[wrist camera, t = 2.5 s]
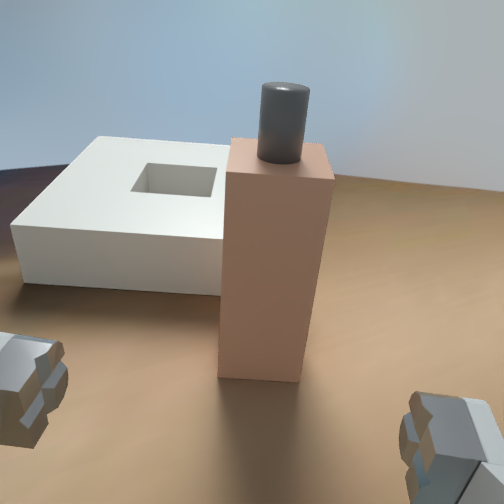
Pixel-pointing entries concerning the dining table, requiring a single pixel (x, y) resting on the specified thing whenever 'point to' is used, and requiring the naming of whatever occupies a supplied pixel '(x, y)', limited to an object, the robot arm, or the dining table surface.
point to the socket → (130, 219)
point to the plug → (272, 240)
